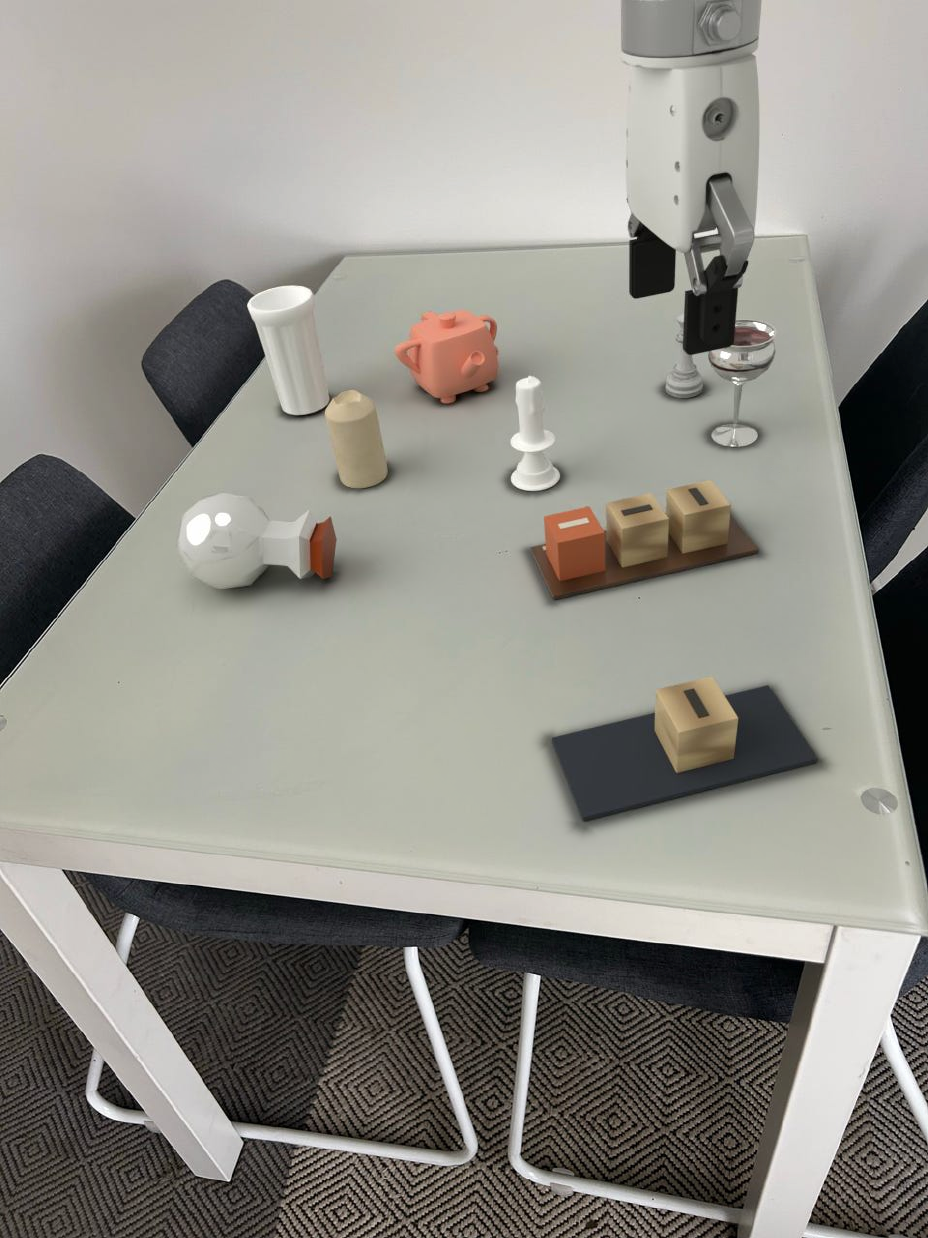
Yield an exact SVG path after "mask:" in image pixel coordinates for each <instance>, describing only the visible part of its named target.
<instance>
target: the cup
mask: <svg viewBox="0 0 928 1238" xmlns="http://www.w3.org/2000/svg"><path fill="white" fill-rule="evenodd" d="M246 307H247V309H248V312H249V314H250V317H251V320H252V321H253V322H254V324H255V327H256V331H257V334H258V337H259V340H260V343H261V346H262V349H263V352H264V356H265V358H266V362H267V365H268V368H269V371H270V374H271V377H272V381H273V384H274V388H275V391H276V393H277V396H278V400H279V403H280V405H281V409H282V411H283V412H285V413H286V414H288V415H292V416H300V415H301V416H302V415H309V414H313V413H316V412H318V411H320V410H322V409H324V408H325V407H326V406H328V405H329V403H330V396H329V390H328V385H327V379H326V375H325V369H324V363H323V359H322V358H323V357H322V352H321V347H320V341H319V336H318V330H317V326H316V325H317V324H316V318H315V314H314V309H315V295H314V293H313V291H312V290H311V288H309V287H306V286H303V285H294V284H293V285H282V286H277V287H273V288H269V289H266V290H264V291H261V292H258V293H257V294H255V295H254V296H252V297H251V298H250V299H249V301H248V302H247V305H246Z"/></svg>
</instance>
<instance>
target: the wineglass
mask: <svg viewBox="0 0 928 1238" xmlns="http://www.w3.org/2000/svg"><path fill="white" fill-rule="evenodd" d="M777 335H778V332H777V329H776V327H774V325H772V324H771V323H769V322H766V321H764V320H763V321H762V320H759V319H751V318H736V322H735V335H734V342H733V344H732V345H731V346H730V347H727V348H723V349H718V350H713V351H708V352H707V353H708V354H707V356H708V358H707V359H708V362H709V364H710V367H711V368H712V369H713V371H714V372H715V373H716V374H717V375H718V376H720V377H721V378H722V379H724V380H725V381H729V382H731V383H732V385H734V397H733V398H734V399H733V423H728V424H723V425H720V426H717V427H716V428H715V429H713V430H712V432H711V438H712V440H713V441H714V442H715V443H716V444H719V445H721V446H724V447H731V448H740V447H745V446H746V447H747V446H749V445H751V444H753V443H754V442H755V441H757V439H758V437H759V436H758V435H759V434H758V432H757V430H756V429H755V428H753V427H752V426H748V425H746V424H739V423H738V421H739V415H740V409H741V408H740V407H741V400H742V399H741V398H742V393H743V385H745V384H746V383H747V382H751V381H753V380H756V379H757V378H758V377H760V376H761V375H762V374H764V373H766V371H768V370H769V368H770V366H771V365H772V363H773V361H774V359H775V356H776V345H775V342H774V340H775V338H776V336H777Z"/></svg>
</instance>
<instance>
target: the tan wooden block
mask: <svg viewBox="0 0 928 1238" xmlns="http://www.w3.org/2000/svg"><path fill="white" fill-rule="evenodd" d="M665 491H666V493H665V494H666V495H665V514H666V515H667V517H668V518H669V527H668V533H669V534H670V536H671V537H672V539H673V540H674V542H675V543H676V544H677V546H678V547H679V549H680V550H681V552H682V553H683V554H684V553H688V552H693V551H697V550H702V549H706V548H710V547H715V546H719V545H723V544H727V543H728V531H729V520H730V515H731V509H732V505H731V503H730V501H729V500H728V499H727V498H726V497H725V495H724V494H723V493H722V492H721V491H720V489H719V488H718V486H717V485H716V484H715V483H714V482H713V481H712V480H711V479H709V480H704V481H699V482H695V483H691V484H686V485H681V486H676V487H671V488H668V489H666V490H665Z"/></svg>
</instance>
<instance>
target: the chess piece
mask: <svg viewBox="0 0 928 1238" xmlns="http://www.w3.org/2000/svg"><path fill="white" fill-rule="evenodd" d="M676 322H677V323H678V325H679V326H680V330H679V333H677V334H676V335H675V341H676V342H677V343H678V344H680V346H679V347H680V348H679V354H678V358H677V362H676V364H675V365H673V367H672V371H671V372H670V373H668V375H667V376H666V379H665V381H666V382H665V392H666V394H668V395H669V396H670V397H673V398H678V399H689V398H693V397H696V396H698V395H700V394H701V393H702V392H703V390H704V383H703V381H704V377H703V375H702V374H701V372H700V371H698V366H697V364H695V363H694V359H693V355H688V354H687V353H686V352H685V351H684V350H683V329H684V313H682V314H679V315H678V316H677V317H676Z"/></svg>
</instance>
